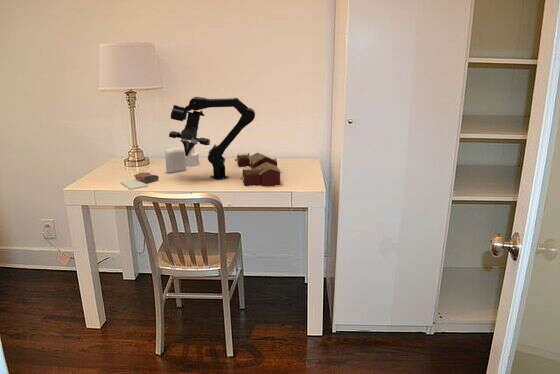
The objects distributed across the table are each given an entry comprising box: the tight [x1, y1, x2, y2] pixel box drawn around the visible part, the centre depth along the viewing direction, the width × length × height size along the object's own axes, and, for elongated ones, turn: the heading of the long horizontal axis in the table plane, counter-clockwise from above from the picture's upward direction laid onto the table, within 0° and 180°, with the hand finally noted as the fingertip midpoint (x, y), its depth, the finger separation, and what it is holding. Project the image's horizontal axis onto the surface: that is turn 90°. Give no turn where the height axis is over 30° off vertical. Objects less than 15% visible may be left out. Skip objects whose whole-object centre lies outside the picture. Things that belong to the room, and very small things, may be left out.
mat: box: [119, 178, 149, 191], centre depth 221 cm, size 14×8×1 cm, turn 36°
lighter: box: [134, 172, 160, 183], centre depth 227 cm, size 8×3×10 cm
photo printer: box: [164, 146, 187, 174], centre depth 242 cm, size 10×4×12 cm, turn 123°
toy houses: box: [234, 152, 283, 187], centre depth 236 cm, size 45×20×10 cm, turn 11°
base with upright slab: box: [185, 140, 200, 168], centre depth 254 cm, size 9×9×12 cm
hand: (186, 155), depth 225 cm, fingers closed
